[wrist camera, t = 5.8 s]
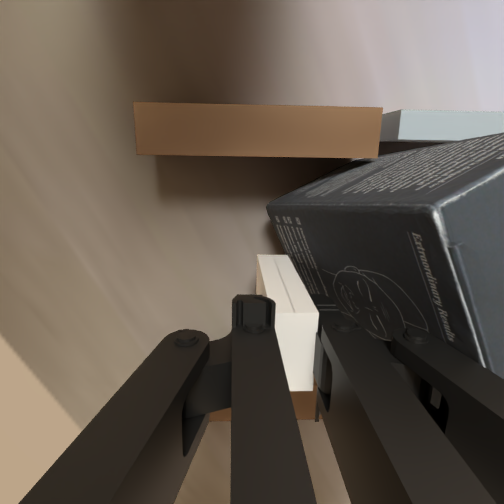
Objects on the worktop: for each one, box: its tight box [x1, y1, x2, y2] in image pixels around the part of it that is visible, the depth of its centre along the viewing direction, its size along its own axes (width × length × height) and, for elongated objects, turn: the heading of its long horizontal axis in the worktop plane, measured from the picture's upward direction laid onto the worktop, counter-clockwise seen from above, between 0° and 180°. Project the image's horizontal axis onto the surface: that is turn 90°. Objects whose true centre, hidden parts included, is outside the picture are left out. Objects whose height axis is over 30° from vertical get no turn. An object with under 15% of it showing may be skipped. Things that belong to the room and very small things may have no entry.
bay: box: [379, 110, 504, 143], centre depth 19 cm, size 15×11×3 cm
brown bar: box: [133, 102, 383, 421], centre depth 18 cm, size 15×10×4 cm, turn 179°
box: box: [266, 132, 504, 408], centre depth 14 cm, size 8×6×11 cm
